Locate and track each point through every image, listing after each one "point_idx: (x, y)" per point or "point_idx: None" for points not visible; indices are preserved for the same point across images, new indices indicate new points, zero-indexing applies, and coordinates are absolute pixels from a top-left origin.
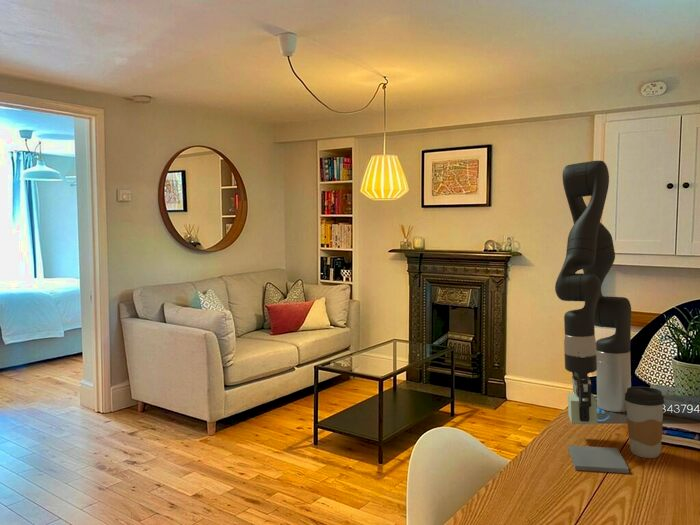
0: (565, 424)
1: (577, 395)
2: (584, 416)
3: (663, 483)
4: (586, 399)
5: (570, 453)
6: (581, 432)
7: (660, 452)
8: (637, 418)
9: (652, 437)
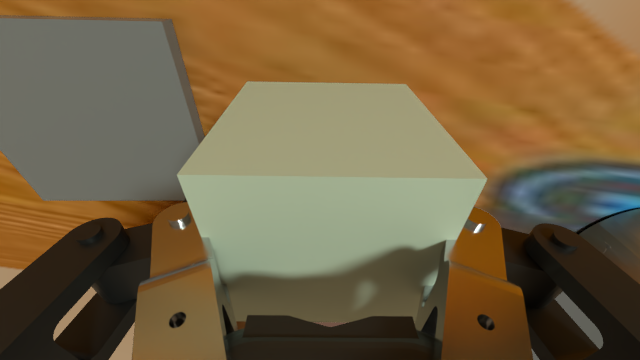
0: (522, 57)
1: (144, 291)
2: None
3: (48, 241)
4: (264, 285)
5: (77, 18)
6: None
7: None
8: None
9: None
